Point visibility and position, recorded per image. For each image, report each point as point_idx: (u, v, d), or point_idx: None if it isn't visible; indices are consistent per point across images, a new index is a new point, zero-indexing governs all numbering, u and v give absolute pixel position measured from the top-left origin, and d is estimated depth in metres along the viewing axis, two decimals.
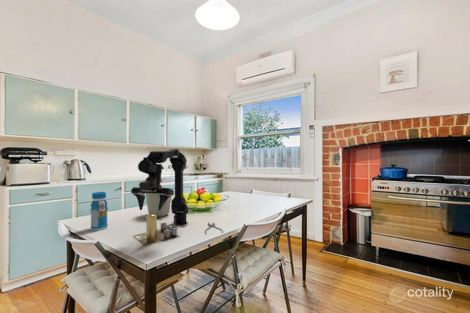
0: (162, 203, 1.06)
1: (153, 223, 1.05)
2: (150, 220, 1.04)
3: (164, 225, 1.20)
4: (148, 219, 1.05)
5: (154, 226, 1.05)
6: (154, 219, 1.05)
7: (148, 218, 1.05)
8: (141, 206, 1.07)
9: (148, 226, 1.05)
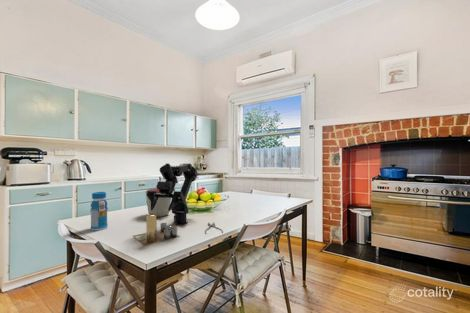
0: (172, 204, 1.16)
1: (153, 223, 1.05)
2: (150, 220, 1.04)
3: (164, 225, 1.20)
4: (148, 219, 1.05)
5: (154, 226, 1.05)
6: (154, 219, 1.05)
7: (148, 218, 1.05)
8: (152, 207, 1.16)
9: (148, 226, 1.05)
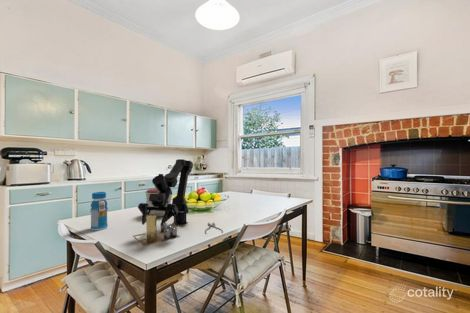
0: (165, 218, 1.08)
1: (153, 223, 1.05)
2: (150, 220, 1.04)
3: (164, 225, 1.20)
4: (148, 219, 1.05)
5: (154, 226, 1.05)
6: (154, 219, 1.05)
7: (148, 218, 1.05)
8: (144, 221, 1.09)
9: (148, 226, 1.05)
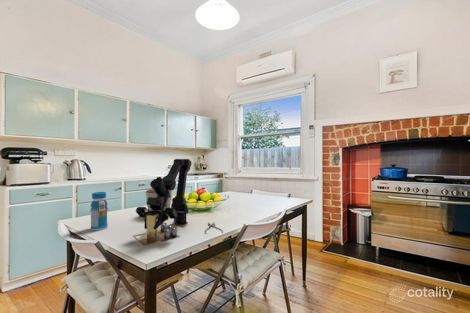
0: (159, 222, 1.07)
1: (153, 223, 1.05)
2: (150, 220, 1.04)
3: (164, 225, 1.20)
4: (148, 219, 1.05)
5: (154, 226, 1.05)
6: (154, 219, 1.05)
7: (148, 218, 1.05)
8: None
9: (148, 226, 1.05)
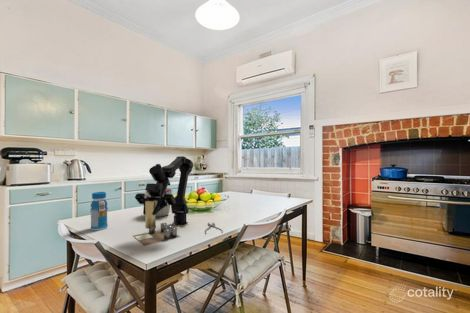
0: (158, 208, 1.07)
1: (152, 209, 1.06)
2: (149, 206, 1.05)
3: (164, 225, 1.20)
4: (147, 205, 1.05)
5: None
6: (152, 205, 1.06)
7: (147, 204, 1.05)
8: None
9: (147, 212, 1.05)
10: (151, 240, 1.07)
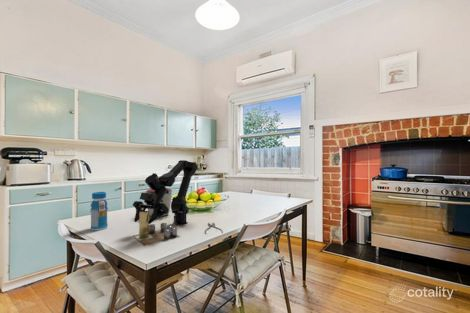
0: (153, 217, 1.10)
1: (144, 219, 1.10)
2: (142, 216, 1.10)
3: (164, 225, 1.20)
4: (140, 215, 1.10)
5: (146, 222, 1.10)
6: (145, 216, 1.10)
7: (140, 214, 1.10)
8: (136, 218, 1.13)
9: (140, 222, 1.10)
10: (151, 240, 1.07)
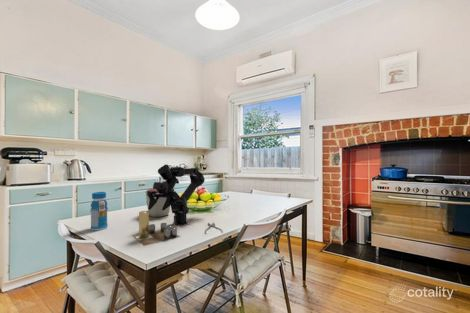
0: (167, 204, 1.19)
1: (144, 220, 1.10)
2: (141, 217, 1.10)
3: (164, 225, 1.20)
4: (140, 215, 1.10)
5: (145, 222, 1.10)
6: (145, 216, 1.10)
7: (140, 215, 1.10)
8: (150, 206, 1.22)
9: (140, 222, 1.10)
10: (151, 240, 1.07)
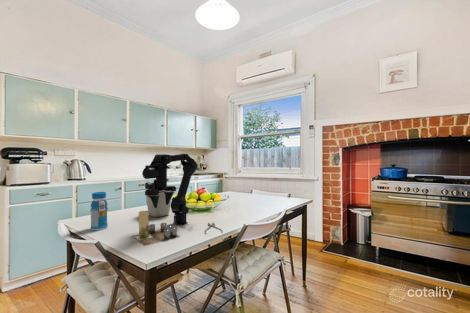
0: (153, 202, 1.20)
1: (144, 219, 1.10)
2: (141, 216, 1.10)
3: (164, 225, 1.20)
4: (139, 215, 1.10)
5: (145, 222, 1.10)
6: (145, 216, 1.10)
7: (139, 214, 1.10)
8: (166, 201, 1.30)
9: (139, 222, 1.10)
10: (151, 240, 1.07)
